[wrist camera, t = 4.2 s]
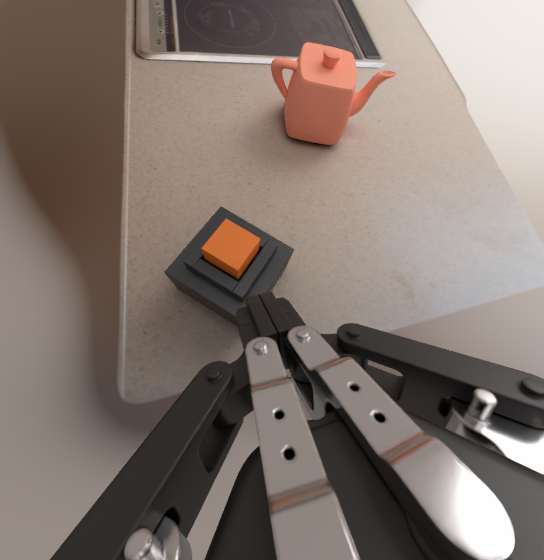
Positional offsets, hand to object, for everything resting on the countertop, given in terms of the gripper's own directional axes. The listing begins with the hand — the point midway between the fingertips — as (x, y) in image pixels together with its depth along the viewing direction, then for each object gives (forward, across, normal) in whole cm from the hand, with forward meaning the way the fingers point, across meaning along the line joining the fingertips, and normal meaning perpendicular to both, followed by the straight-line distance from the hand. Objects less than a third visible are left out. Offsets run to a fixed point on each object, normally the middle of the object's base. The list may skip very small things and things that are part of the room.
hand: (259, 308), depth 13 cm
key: (+12, 0, +1) cm, 12 cm away
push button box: (+17, 0, +6) cm, 18 cm away
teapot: (+34, -21, -12) cm, 42 cm away
